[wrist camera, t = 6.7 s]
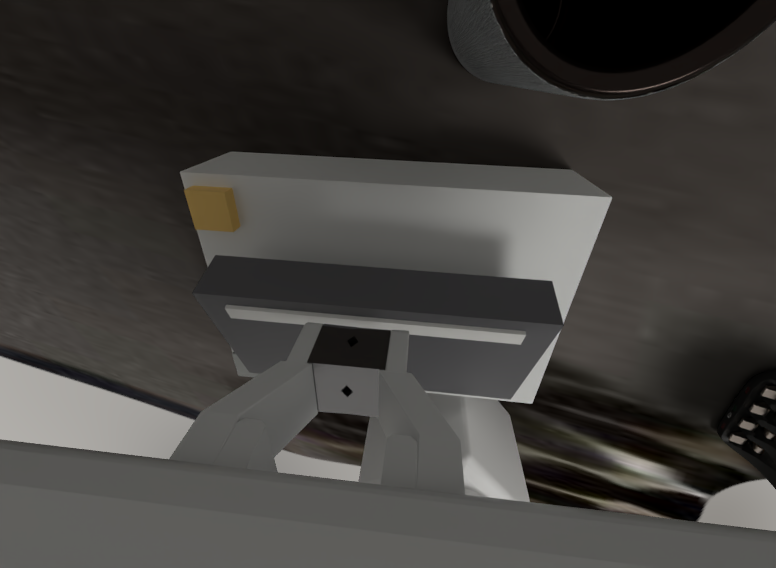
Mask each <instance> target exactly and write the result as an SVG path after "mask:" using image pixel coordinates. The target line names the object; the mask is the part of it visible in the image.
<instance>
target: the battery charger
mask: <svg viewBox="0 0 776 568" xmlns="http://www.w3.org/2000/svg"><path fill="white" fill-rule="evenodd" d="M717 433H718V435H719V436H720V437H721V439H722V440H723V441H724V442H725V443H726V444H727V445H729V446H730V447H731V448H732V449H733V450H735V451H736V452H737V453H739V454H740V455H741V456H743V457H744V458H745V459H746V460H748V461H749V462H750V463H751V464H752V465H753V466H755V467H756V468H757V469H758V470H759V471H760V472H761V473H762V474H763V475H764V476H765V477H766V478H767V480H768V481H769V482H770V483H771V484H772V485H773V487H774V488H775V489H776V370H775V371H769V372H764V373H761V374H758V375H756V376H754V377H753V378H752V379H751V380H750V381H748V382H747V384H746V385H745V386H744V388H743V389H742V390H741V392H740V393H739V395H738V396H737V397H736V399H735V400H734V402H733V403H732V404H731V406H730V408H729V409H728V411H727V412H726V414H725V415H724V417H723V419H722V420H721V422H720V424H719V427H718V430H717Z"/></svg>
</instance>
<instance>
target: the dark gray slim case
mask: <svg viewBox="0 0 776 568" xmlns="http://www.w3.org/2000/svg"><path fill="white" fill-rule="evenodd" d="M192 294H193V295H194V297H195V298H196V299H197V301H198V302H199V304H200V305H201V306H202V308H203V309H204V311H205V312H206V313H207V315H208V316H209V317H210V319H211V320H212V322H213V323H214V324H215V326H216V327H217V328H218V330H219V331H220V333H221V334H222V335H223V337H224V338H225V340H226V341H227V342H228V344H229V345H230V346H231V348H232V349H233V351H234V352H235V353H236V355H237V356H238V357H239V359H240V360H241V362H242V363H243V364H244V366H245V367H246V369H247V370H248V371H249V373H258V374H261V373H263V372H264V371H266V370H267V369H269V368H271V367H272V366H274V365H275V364H277V363H278V362H280V361H286V360H287V358H288V356H289V354H290V352H291V350H292V348H293V346H294V344H295V342H296V340H297V338H298V336H299V334H300V332H301V330H302V328H303V326H304V325H305V324H306V323H307V322H311V323H321V324H332V325H341V326H351V327H359V328H372V329H384V330H405V331H409V345H408V359H407V373H412V374H413V376H414V377H415V378H416V380H417V381H418V383H419V384H420V385H421V387H422V388H423V389H424V391H432V392H442V393H452V394H461V395H471V396H481V397H490V398H500V399H510V400H511V398H512V397H513V396H514V394H515V393H516V391H517V390H518V389H519V387H520V386H521V384H522V383H523V382H524V380H525V379H526V377H527V376H528V375H529V373H530V372H531V370H532V369H533V368H534V366H535V365H536V364H537V362H538V361H539V359H540V358H541V357H542V355H543V354H544V352H545V351H546V350H547V348H548V347H549V345H550V344H551V343H552V341H553V340H554V338H555V337H556V336H557V334H558V333H559V331H560V330H561V329H562V327H563V326H564V324H563V320H562V316H561V313H560V309H559V305H558V301H557V297H556V294H555V290H554V286H553V282H552V281H546V280H533V279H520V278H508V277H495V276H482V275H469V274H456V273H443V272H430V271H417V270H404V269H391V268H378V267H365V266H352V265H339V264H327V263H314V262H301V261H288V260H275V259H262V258H249V257H236V256H223V255H215V256H214V258H213V260H212V261H211V263H210V265H209V266H208V268H207V269H206V271H205V273H204V274H203V276H202V278H201V279H200V281H199V282H198V284H197V286H196V287H195V289H194V291H193V292H192Z"/></svg>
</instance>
